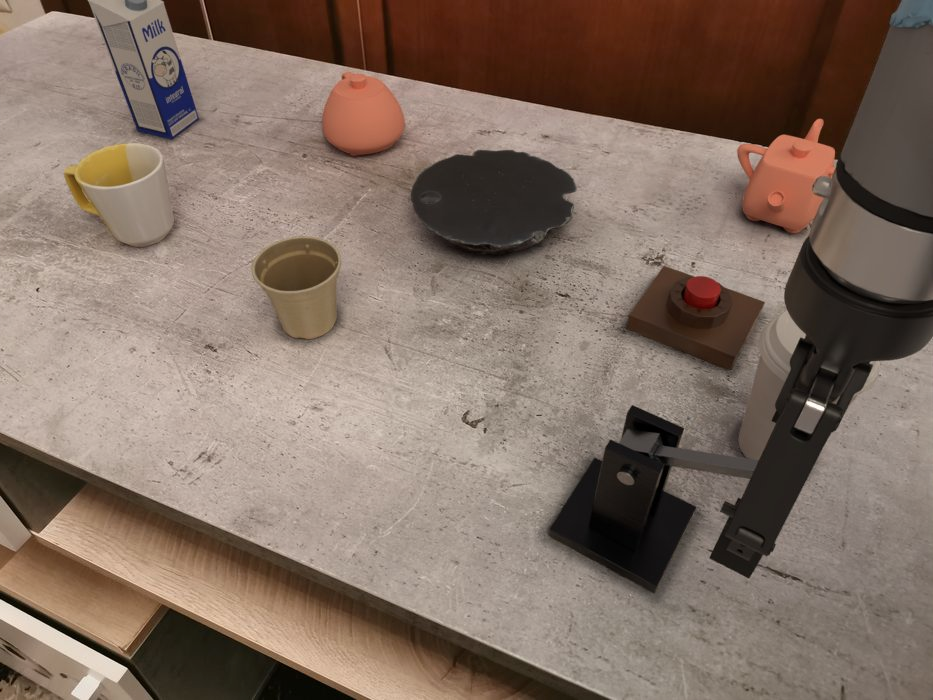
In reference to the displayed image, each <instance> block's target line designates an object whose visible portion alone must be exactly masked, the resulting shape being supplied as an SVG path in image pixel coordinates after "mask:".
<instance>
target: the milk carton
mask: <svg viewBox="0 0 933 700" xmlns="http://www.w3.org/2000/svg"><path fill="white" fill-rule="evenodd" d="M87 2H88V4H89V6H90V9H91V11H92V14H93V17H94V20H95V22H96V25H97V27H98V31H99V33H100V36H101V38H102V40H103V41H102V42H103V43H104V46H105V49H106V51H107V54H108V57H109V59H110V62H111V65H112V67H113V70H114V72H115V75H116V78H117V81H118V83H119V86H120V88H121V91H122V94H123V96H124V99H125V102H126V105H127V107H128V110H129V113H130V115H131V118H132V120H133V123H134V125H135V128H136V131H137V132H139V133H142V134H147V135H151V136H155V137H159V138H164V139H167V140H171V141H172V140H173V139H174V138H176V137H178V135H180V134H181V133H183V132H184V131H186V130H187V129H188V128H189V127H191V126H192V125H193V124H195V123H196V122H197V121H199V119H200V117H199V115H198V114H199V113H198V110H197V107H196V104H195V100H194V98H193V94H192V91H191V87H190V84H189V81H188V78H187V75H186V71H185V68H184V65H183V61H182V58H181V55H180V51H179V49H178V45H177V41H176V39H175V36H174V32H173V29H172V25H171V23H170V19H169V16H168V12H167V9H166V6H165V1H163V0H87Z"/></svg>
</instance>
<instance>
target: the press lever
mask: <svg viewBox="0 0 933 700" xmlns="http://www.w3.org/2000/svg"><path fill="white" fill-rule="evenodd" d="M621 437H622V436H621ZM621 437H620V440H619V441H618V443H620V444H622V445H624V446H626V447H628V448H630V449H632V450H634V451H637V452H639V453H641V454H643V455H645V456H647V457H649V458H651V459H654V460H656V461H658V462H660V463H662V464H664V465H669V466H672V467H675V468H680V469H686V470H693V471H698V472H704V473H711V474H716V475H723V476H728V477H734V478H739V479H740V478H741V479H745V480H750V478H751V476H752V474H753V472H754V469H755V467H756V465H757V463H758V461H759V460H755V459H748V458H746V457H740V456H734V455H728V454H721V453H716V452H715V453H714V452H709V451H702V450H694V449H687V448H681V447H678V448H676V447H669V446H664V445H663V442H662V439H661V436H660V433H654V432H647V431H640V430H632V429H627V430H626V432H625V433H624V435H623V437H622V438H621Z"/></svg>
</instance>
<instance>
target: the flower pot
mask: <svg viewBox="0 0 933 700" xmlns="http://www.w3.org/2000/svg"><path fill="white" fill-rule="evenodd" d="M341 267H342V255H341V252H340V250H339V249H338V247H337V246H335V245H334V244H333V243H332V242H330V241H328V240H326V239H323V238H320V237H317V236H310V235H300V236H290V237H286V238H282V239H280V240H277V241H274V242H272V243H271V244H269V245H266V247H264V248H263V249H262V250H260V251H259V252H258V254H257V255H256V256H255V257H254V259H253V261H252V264H251V273H252V274H251V275H252V277H253V280H254V281H255V283H256V284H257V285H258V286H259V287H261V289H262V290H263V292H264V293H266V295H267V297H268V299H269V301H270V303H271V305H272V308H273V310H274V312H275V314H276V316H277V319H278V320H279V322H280V326H281V327H282V329H283V331H284V332H285V333H286V334H287V335H289V336H290V337H292V338H295V339H298V338H302V339H305V340H306V339H307V340H312V339H316V338H320V337H322V336H324V335H326V334H327V333H329V332H330V331H331V330H332V329H333V328H334V326H335V323H336V322H337V317H338V315H337V279H338V276H339V272H340V270H341Z"/></svg>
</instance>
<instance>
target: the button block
mask: <svg viewBox="0 0 933 700" xmlns="http://www.w3.org/2000/svg"><path fill="white" fill-rule="evenodd" d="M693 277H695V276H693V275H691V274H689V273H686V272H682V271H680V270H678V269H676V268H675V269H674V268H671V267H669V266H667V265H663V266H662V268H660V270H659V272H658V273H657V274H656V276H655V277H654V279H653V280H652V282H651V283H650V284H649V286H648V287H647V288H646V290H645V291H644V293H643V294H642V296H641V297H640V298H639V300H638V302H637V303H636V304H635V305H634V307H633V308H632V310H631V311H630V313H628V317H627V322H626V327H625V330H628V331H630V332H633V333H635V334H638V335H641V336H642V337H645V338H648V339H651V340H653V341H656V342H657V343H661V344H663V345H666V346H668V347H670V348H673V349H675V350H678V351H679V352H682V353H685V354H688V355H690V356H693V357H694V358H697V359H700V360H703V361H705V362H707V363H710V364H712V365H715V366H718V367H720V368H722V369H725V370H727V371H731V370H732V368H733V367H734V365H735V363H736V362H737V360H738V358H739V356H740V353H741V352H742V350H743V348H744V346H745V344H746V342H747V341H748V339H749V337H750V335H751V333H752V331H753V330H754V327H755V326H756V324H757V322H758V320H759V318H760V316H761V314H762V311H763V308H764V306H765V301H764V300H760V299H758V298H755V297H752V296H750V295H747V294H744V293H741V292H739V291H735V290H733V289H730V288H727V287H725V286H723V285H722V284H721V283H720V282H718V281H716V282H717V283H718V284H719V285H720V288H721V291H720V295H719V298H718V301H717V304H716V305H715V306H714V307H713V308H711V309H698V308H695V307H692V306H690V305H688V304H687V303H686V302H685V300H684V297H683V296H684V292H685V288H686V284H687V282H688V280H689V279H691V278H693Z"/></svg>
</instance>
